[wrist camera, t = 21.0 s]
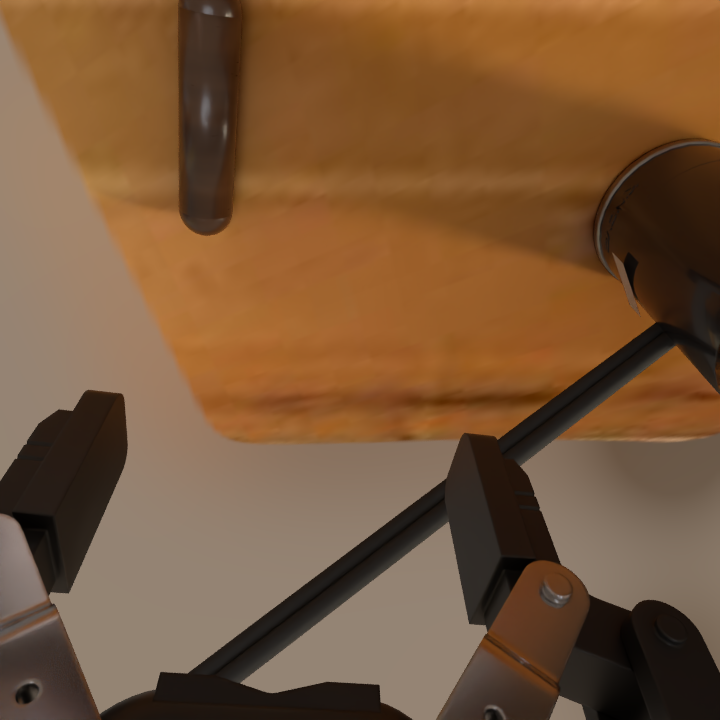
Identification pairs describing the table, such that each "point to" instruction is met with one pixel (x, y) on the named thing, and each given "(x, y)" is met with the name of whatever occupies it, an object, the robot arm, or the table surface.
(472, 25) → the table surface
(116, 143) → the table surface
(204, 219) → the brown-handled spatula
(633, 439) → the table surface
